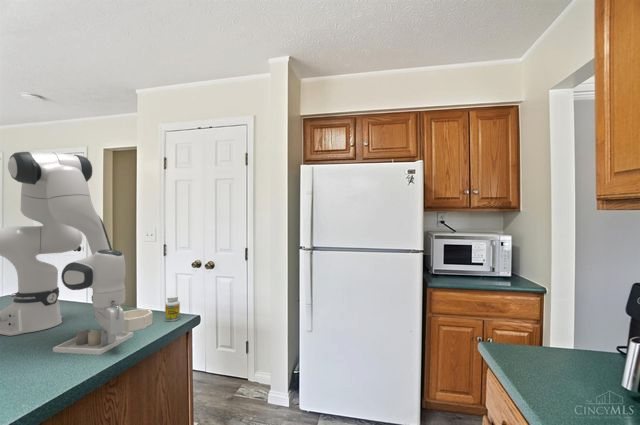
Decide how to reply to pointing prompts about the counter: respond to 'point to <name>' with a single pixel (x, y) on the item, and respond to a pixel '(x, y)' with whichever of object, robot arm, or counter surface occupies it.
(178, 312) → the supplement bottle
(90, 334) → the pebble
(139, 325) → the bowl
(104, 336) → the grey rounded lump
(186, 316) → the counter surface
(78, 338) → the pebble
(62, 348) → the tray
